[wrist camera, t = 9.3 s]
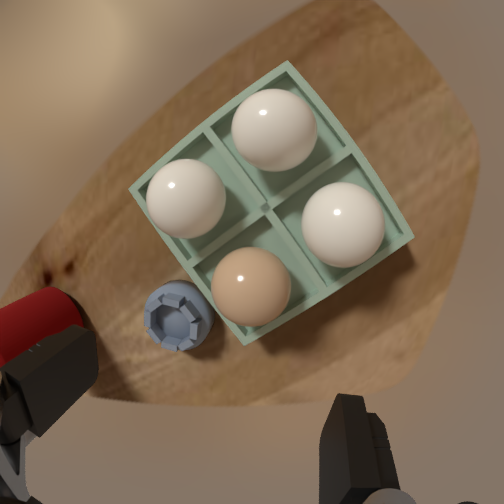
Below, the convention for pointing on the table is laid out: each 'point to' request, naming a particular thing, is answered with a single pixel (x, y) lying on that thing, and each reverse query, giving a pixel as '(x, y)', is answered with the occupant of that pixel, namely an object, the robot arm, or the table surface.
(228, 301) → the brown egg
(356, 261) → the white egg
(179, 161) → the white egg
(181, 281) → the egg cup
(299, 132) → the white egg
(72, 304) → the beverage can
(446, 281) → the table surface
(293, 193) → the egg carton
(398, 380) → the table surface
